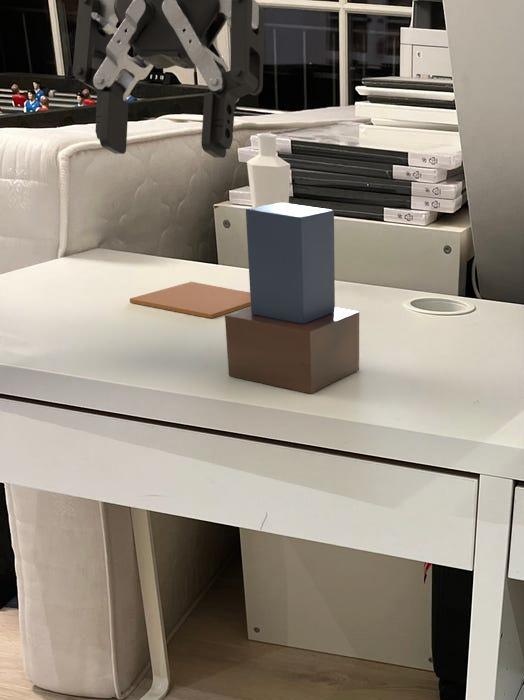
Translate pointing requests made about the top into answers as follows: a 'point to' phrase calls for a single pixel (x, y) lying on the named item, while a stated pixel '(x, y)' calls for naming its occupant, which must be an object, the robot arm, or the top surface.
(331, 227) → the top block
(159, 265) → the top surface
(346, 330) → the base block
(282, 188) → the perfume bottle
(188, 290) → the cork mat
